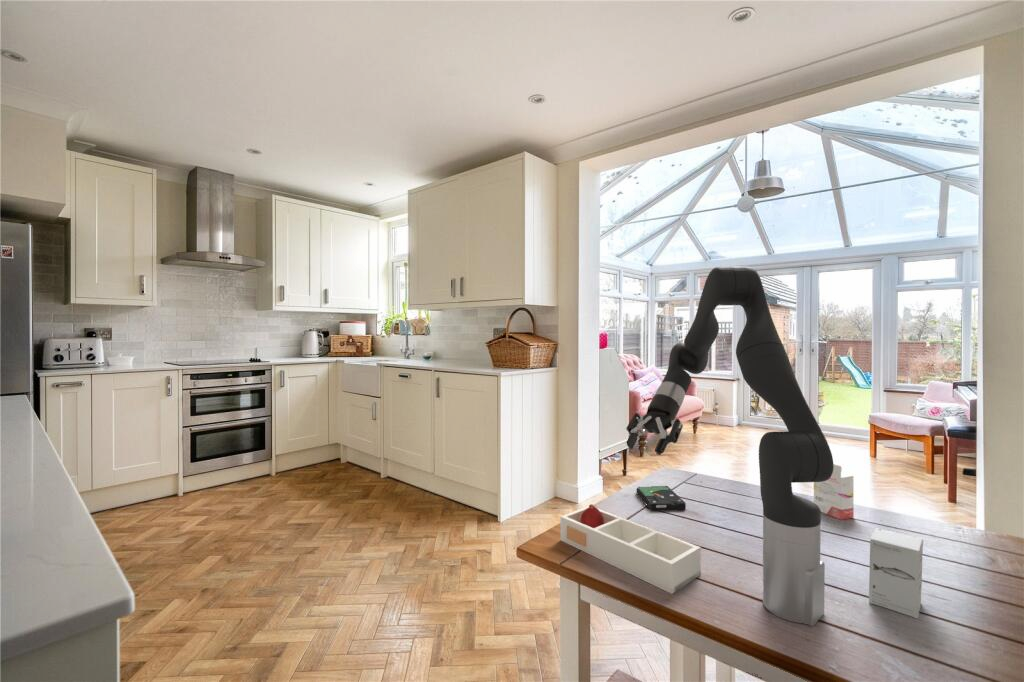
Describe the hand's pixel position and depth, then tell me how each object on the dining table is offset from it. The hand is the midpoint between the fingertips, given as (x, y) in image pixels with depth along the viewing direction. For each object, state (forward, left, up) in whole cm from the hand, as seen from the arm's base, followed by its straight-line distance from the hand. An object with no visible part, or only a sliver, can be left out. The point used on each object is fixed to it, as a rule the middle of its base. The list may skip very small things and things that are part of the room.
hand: (642, 450), depth 121 cm
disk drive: (+9, -21, -22) cm, 32 cm away
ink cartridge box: (-28, -50, -21) cm, 61 cm away
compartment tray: (-6, +15, -21) cm, 27 cm away
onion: (+4, +15, -20) cm, 25 cm away
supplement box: (-50, -9, -21) cm, 55 cm away
